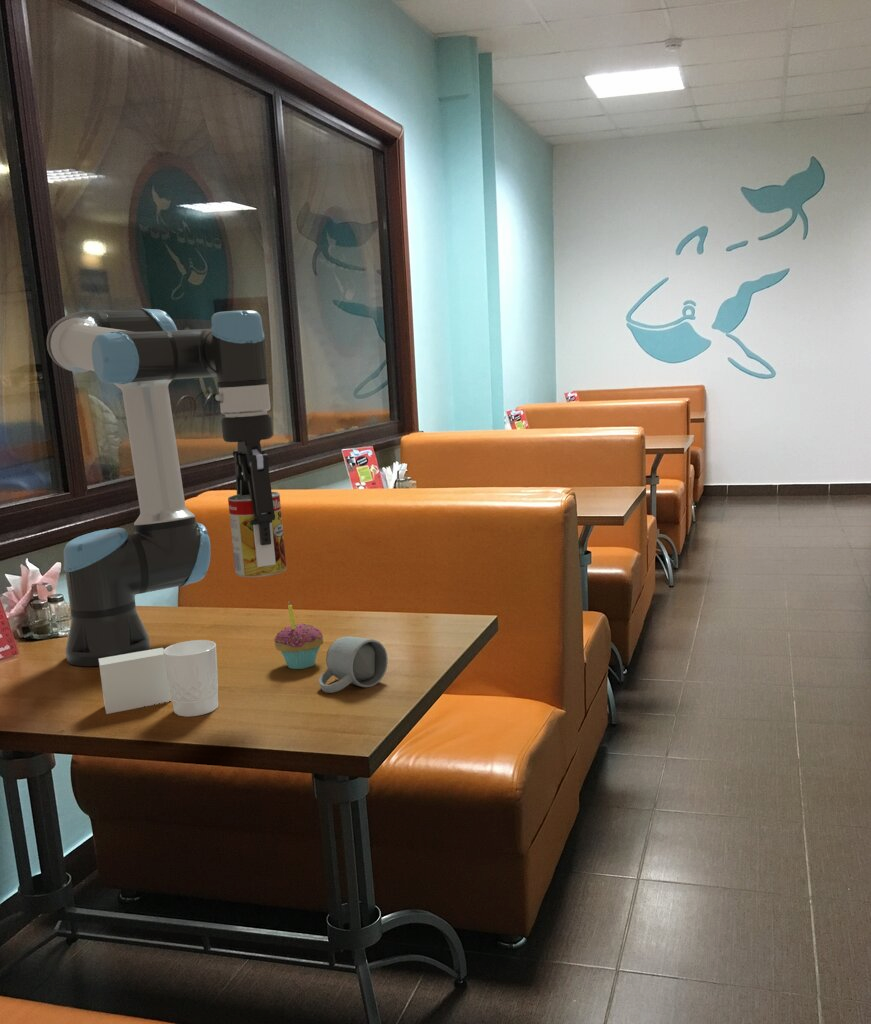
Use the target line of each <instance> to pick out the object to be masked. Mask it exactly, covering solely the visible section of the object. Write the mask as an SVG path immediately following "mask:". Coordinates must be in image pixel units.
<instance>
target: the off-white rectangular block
mask: <svg viewBox="0 0 871 1024" xmlns="http://www.w3.org/2000/svg"><path fill="white" fill-rule="evenodd" d="M164 649H165V648H164V647H158V648H152V649H151V648H150V650H146V651H140V652H134V653H128V654H122V655H117V656H111V657H105V658H99V674H100V682H101V688H102V689H101V690H102V697H103V698H102V699H103V704H104V710H105V714H106V715H109V714H114V713H119V712H124V711H129V710H135V709H139V708H144V706H145V707H149V706H155V705H159V703H160V704H165V703H164V702H166V703H169V701H171V702H173V701H172V696H171V693H170V688H169V682H168V677H167V671H166V665H165V659H164V653H163V651H164ZM154 704H155V705H154Z"/></svg>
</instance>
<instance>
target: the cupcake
mask: <svg viewBox="0 0 871 1024" xmlns="http://www.w3.org/2000/svg"><path fill="white" fill-rule="evenodd" d="M290 602H291V601H287V603H288V606H287V608H288V612H289V613H288V614H289V620H290V624H291V626H287V627H284V628H283V629H281V630H280V631H279V632H277V634H276V636H275V638H274V647H275V649H276V650H277V651H279V652H280V653H281V655H282V656H283V659H284V661H285V663H286V665H287V667H288V668H289V669H292V670H302V669H303V670H304V669H307V668H311V667H313V666H314V665H315V664H316V659H317V656H318V652H319V650H320V648H321V646H322V645H323V644H324V636H323V632H322V631H321V629H319V628H316V627H314V626H313V625H310V624H304V623H299V624H298V623H297V624H296V622H295V621H296V620H295V616H294V609H293V605H292V604H291V603H290Z"/></svg>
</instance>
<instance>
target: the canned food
mask: <svg viewBox="0 0 871 1024" xmlns="http://www.w3.org/2000/svg"><path fill="white" fill-rule="evenodd" d="M280 495H281V494H280V492H277V491H272V499H273V507H274V514H275V520H272V530H273V540H274V551H275V561H276V564H275V565H269V566H262V567H258V566H257V559H256V549H255V539H254V529H253V525H250V521H251V520H254V514H253V509H252V500H251V498H250V494H249V495H241V494H239V495H237V494H234V495H230V496H228V498H227V502H228V514H229V521H230V530H231V531H230V532H231V541H232V549H233V550H232V551H233V552H232V553H233V559H234V560H233V561H234V572H235V575H236V576H238V577H240V578H241V577H243V578H260V577H269V576H275V575H278V574H281V573H283V572H285V571H286V570H287V559H286V549H285V537H284V528H283V519H282V518H283V516H282V505H281V497H280Z"/></svg>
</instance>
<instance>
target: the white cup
mask: <svg viewBox="0 0 871 1024" xmlns="http://www.w3.org/2000/svg"><path fill="white" fill-rule="evenodd" d="M163 649H164V651H163V653H164V659H165V665H166V671H167V677H168V682H169V688H170V693H171V700H172V701H171V702H172V705H173V712H174V714H175V715H177V716H180V717H186V718H188V717H198V716H203V715H206V714H209V713H211V712H213V711H215V710H216V709H218V707H219V692H218V690H219V685H218V684H219V677H218V676H219V675H218V674H219V673H218V657H217V644H216V642H214V641H212V640H208V639H197V640H196V639H195V640H194V639H193V640H186V641H182V642H177V643H174V644H171V645H168V646H167V647H165V648H163Z"/></svg>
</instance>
